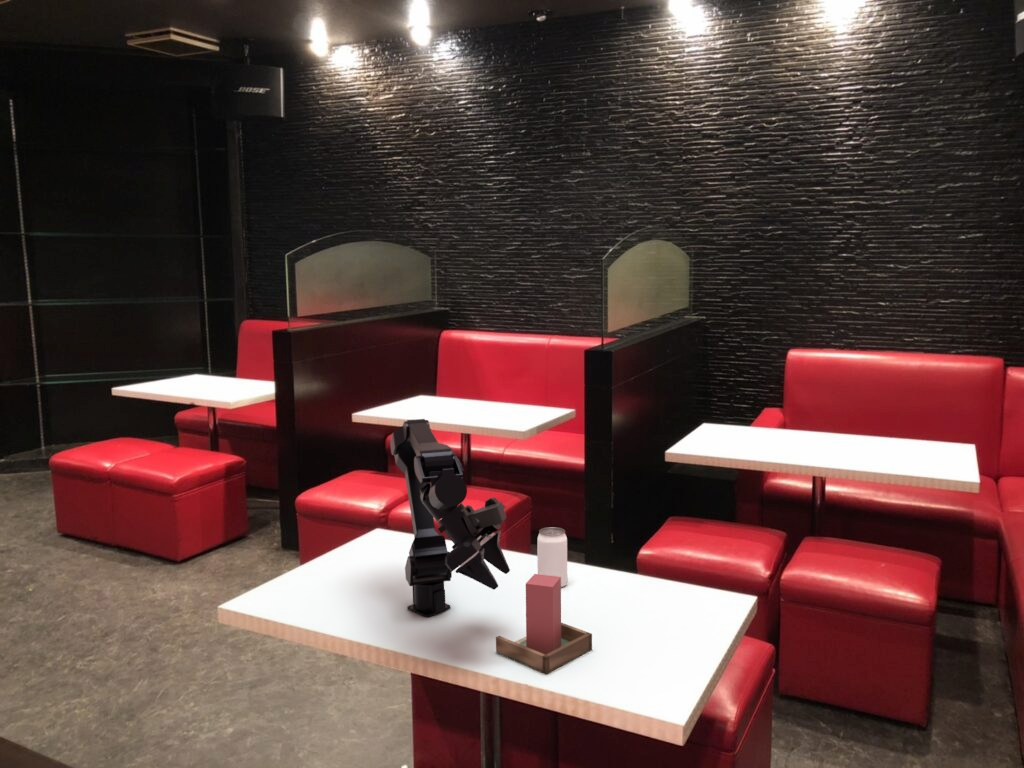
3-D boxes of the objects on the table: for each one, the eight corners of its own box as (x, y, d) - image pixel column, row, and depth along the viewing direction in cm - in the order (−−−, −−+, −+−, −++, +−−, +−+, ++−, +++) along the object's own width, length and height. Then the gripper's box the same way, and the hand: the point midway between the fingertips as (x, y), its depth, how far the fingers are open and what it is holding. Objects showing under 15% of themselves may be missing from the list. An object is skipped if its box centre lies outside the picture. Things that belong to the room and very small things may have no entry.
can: (565, 590, 181) (564, 536, 179) (535, 588, 182) (534, 535, 180) (569, 579, 187) (568, 527, 185) (540, 577, 188) (539, 525, 187)
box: (496, 652, 152) (495, 637, 152) (542, 630, 161) (542, 615, 161) (546, 674, 144) (546, 657, 144) (591, 649, 153) (591, 633, 153)
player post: (526, 653, 151) (525, 583, 149) (535, 641, 156) (534, 573, 154) (553, 657, 149) (552, 586, 148) (561, 645, 154) (560, 576, 152)
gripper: (468, 497, 144) (525, 569, 143) (494, 476, 163) (545, 541, 161) (421, 535, 147) (476, 606, 146) (452, 510, 165) (501, 574, 164)
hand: (502, 580), depth 154 cm, fingers open, 9 cm apart
